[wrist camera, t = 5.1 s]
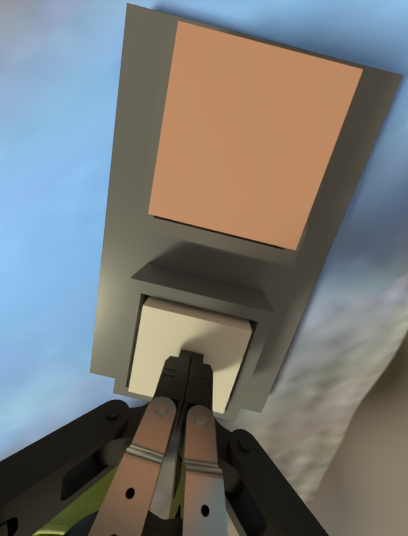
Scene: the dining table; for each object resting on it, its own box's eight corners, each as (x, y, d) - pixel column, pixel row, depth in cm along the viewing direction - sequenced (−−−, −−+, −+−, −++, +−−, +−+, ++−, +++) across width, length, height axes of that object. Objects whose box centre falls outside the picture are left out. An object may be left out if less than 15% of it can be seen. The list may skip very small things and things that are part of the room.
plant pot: (62, 418, 23) (-23, 537, 15) (144, 408, 22) (101, 530, 14) (92, 476, 26) (33, 606, 17) (166, 470, 25) (142, 605, 16)
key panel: (98, 360, 21) (63, 407, 16) (136, 24, 13) (91, -77, 8) (258, 398, 21) (270, 455, 16) (383, 89, 14) (474, 26, 9)
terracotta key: (164, 211, 12) (147, 213, 9) (188, 72, 10) (178, 20, 7) (276, 239, 12) (295, 250, 9) (322, 107, 10) (363, 69, 7)
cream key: (142, 360, 17) (128, 391, 14) (156, 286, 15) (142, 305, 12) (222, 379, 17) (223, 413, 14) (245, 308, 15) (252, 331, 13)
